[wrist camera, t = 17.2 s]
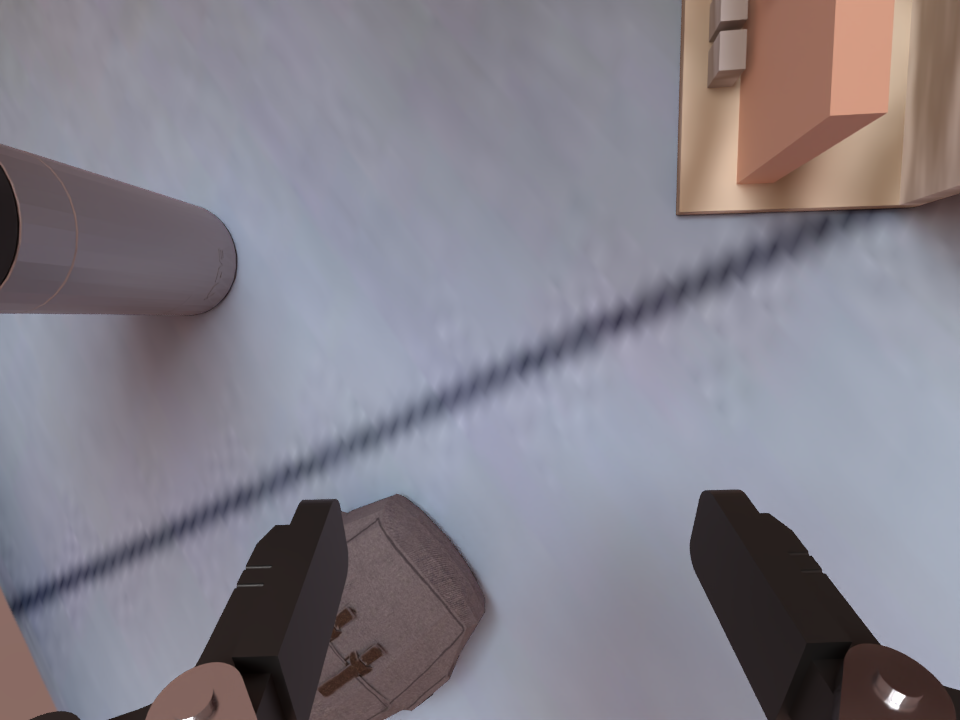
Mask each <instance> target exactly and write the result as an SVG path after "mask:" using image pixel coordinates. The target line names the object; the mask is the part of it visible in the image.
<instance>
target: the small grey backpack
mask: <svg viewBox="0 0 960 720" xmlns="http://www.w3.org/2000/svg"><path fill="white" fill-rule="evenodd" d="M341 514H342V519H343V525H344V530H345V536H346V541H347V547H348V557H349V559H348V573H347V578H346V582H345V586H344V590H343V594H342V597H341V601H340V605H339V609H338V612H337V616H336V620H335V624H334V627H333V631H332V635H331V639H330V642H329V646H328V650H327V654H326V657H325V661H324V665H323V669H322V672H321V676H320V680H319V684H318V687H317V691H316V695H315V699H314V702H313V706H312V710H311V714H310V717H309V720H384V719H386V718H388V717H390V716H391V715H393V714H395V713H397V712H399V711H401V710H403V709H404V710H410V711H412V710H413V709H415V708H416V707H417V706H419V705H420V704H421V703H423V702H424V701H425V700H426V699H428V698H429V697H430V696H432V695H433V693H434V692H435V691H436V690H437V689H438V688H440V687H441V686H442V685H443V684H444V683H446V682H447V681H448V680H449V679H450V676H451V674H452V672H453V669H454V667H455V664H456V662H457V660H458V657H459V654H460V652H461V650H462V649H463V647H464V646H465V644H466V642H467V641H468V639H469V637H470V636H471V634H472V632H473V631H474V629H475V627H476V626H477V624H478V622H479V621H480V619H481V618H482V616H483V614H484V613H485V602H484V596H483V594H482V592H481V589H480V587H479V585H478V583H477V582H476V580H475V578H474V576H473V574H472V572H471V571H470V569H469V567H468V565H467V563H466V562H465V561H464V559H463V558H462V557H461V555H460V554H459V553H458V551H457V550H456V549H455V547H454V546H453V545H452V543H451V542H450V540H449V539H448V538H447V536H446V535H445V534H444V533H443V532H442V531H441V530H440V529H439V528H438V527H437V526H436V525H435V524H434V523H433V522H432V521H431V519H430V518H429V517H428V516H427V515H426V514H425V513H424V512H423V511H422V510H421V509H419V508H418V507H417V506H415V505H414V504H413V503H412V502H410V501H409V500H408V499H407V498H405V497H404V496H401V495H399V494H396V495H393V496H390V497H388V498H385V499H382V500H379V501H377V502H374V503H371V504H368V505H366V506H363V507H360V508H358V509H355V510H352V511H351V512H349V513H346V512H341Z"/></svg>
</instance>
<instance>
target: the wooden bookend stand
mask: <svg viewBox="0 0 960 720" xmlns="http://www.w3.org/2000/svg"><path fill="white" fill-rule="evenodd" d="M747 18H748V0H682V17H681V53H680V89H679V125H678V161H677V197H676V215H689V214H721V213H753V212H785V211H817V210H848V209H880V208H912V207H917V206H920V205H923V204H927V203H930V202H933V201H936V200H940V199H943V198H946V197H949V196H953V195H956V194H959V193H960V0H895V3H894V19H893V36H892V52H891V68H890V85H889V101H888V113H886V114H885V115H883V116H881V117H880V118H878V119H877V120H875V121H873V122H872V123H870V124H868V125H867V126H865V127H864V128H862V129H860V130H859V131H857V132H855V133H854V134H852V135H851V136H849V137H847V138H846V139H844V140H842V141H841V142H839V143H838V144H836V145H834V146H833V147H831V148H829V149H828V150H826V151H825V152H823V153H821V154H820V155H818V156H816V157H815V158H813V159H812V160H810V161H808V162H807V163H805V164H803V165H802V166H800V167H799V168H797V169H795V170H794V171H792V172H790V173H789V174H787V175H786V176H784V177H782V178H781V179H779V180H778V181H776V182H774V183H758V184H736V183H737V157H738V130H739V104H740V78H741V74H742V73H743V71H744V70H745V69H746V45H747V29H742V27H743V25H744V24H745V22H746V21H747Z"/></svg>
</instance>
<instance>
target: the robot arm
mask: <svg viewBox="0 0 960 720" xmlns="http://www.w3.org/2000/svg"><path fill="white" fill-rule="evenodd" d="M235 270H236V253H235V248H234V243H233V241H232V238H231V236H230V234H229V232H228V230H227V229H226V227H225V226H224V224H223V223H222V222H221V221H220V220H219V219H218V218H217V217H216V216H215V215H214V214H212V213H211V212H209V211H208V210H206V209H204V208H201V207H198V206H195V205H192V204H189V203H186V202H183V201H180V200H177V199H174V198H171V197H168V196H165V195H162V194H159V193H156V192H152V191H149V190H146V189H143V188H140V187H137V186H133V185H130V184H127V183H124V182H121V181H118V180H114V179H111V178H108V177H105V176H102V175H99V174H95V173H92V172H89V171H86V170H83V169H80V168H76V167H73V166H70V165H67V164H64V163H61V162H58V161H54V160H51V159H48V158H45V157H42V156H39V155H35V154H32V153H29V152H26V151H22V150H19V149H15V148H12V147H9V146H6V145H3V144H0V314H17V313H21V314H115V315H197V314H200V313H203V312H206V311H208V310H210V309H211V308H213V307H215V306H216V305H217V304H218V303H219V302H220V301H221V300H222V299H223V298H224V297H225V295H226V294H227V292H228V291H229V289H230V287H231V285H232V282H233V280H234V276H235ZM690 555H691V561H692V565H693V568H694V570H695V573H696V575H697V577H698V579H699V581H700V583H701V585H702V587H703V589H704V591H705V593H706V595H707V597H708V599H709V601H710V603H711V605H712V607H713V609H714V611H715V613H716V615H717V617H718V619H719V621H720V623H721V626H722V628H723V630H724V632H725V634H726V636H727V638H728V640H729V642H730V644H731V646H732V648H733V650H734V652H735V654H736V656H737V658H738V660H739V662H740V664H741V666H742V668H743V670H744V672H745V674H746V676H747V678H748V680H749V683H750V685H751V687H752V689H753V691H754V693H755V695H756V697H757V699H758V701H759V703H760V705H761V707H762V709H763V711H764V713H765V715H766V717H767V719H768V720H960V690H956V689H952V688H949V687H946V686H943V685H942V684H941V683H940V682H939V681H938V680H937V679H936V678H935V677H934V675H933V674H931V673H930V672H929V671H928V670H927V669H926V668H925V667H923V666H922V665H921V664H919V663H918V662H916V661H915V660H913V659H912V658H910V657H908V656H907V655H905V654H903V653H901V652H899V651H897V650H894V649H892V648H889V647H886V646H882V645H881V644H880V643H879V642H878V641H877V640H876V638H875V637H874V636H873V635H872V633H871V632H870V631H869V629H868V628H867V627H866V626H865V624H864V623H863V622H862V620H861V619H860V618H859V616H858V615H857V614H856V613H855V611H854V610H853V609H852V607H851V606H850V605H849V604H848V602H847V601H846V600H845V598H844V597H843V596H842V594H841V593H840V592H839V591H838V589H837V588H836V587H835V585H834V584H833V583H832V582H831V580H830V579H829V578H828V576H827V575H826V574H823V573H822V569H821V567H820V566H819V565H818V563H817V562H816V561H815V560H814V558H813V557H812V556H809V554H808V550H807V549H806V548H805V547H804V545H803V544H802V543H801V541H800V540H799V539H798V538H797V536H796V535H795V534H794V532H793V531H792V530H791V529H789V528H788V527H787V526H785V525H784V524H783V523H781V522H780V521H779V520H777V519H776V518H775V517H773V516H772V515H771V514H769V513H759V512H758V511H757V509H756V508H755V506H754V505H753V504H752V502H751V501H750V500H749V498H748V497H747V495H746V494H745V493H744V492H743V491H741V490H705V491H703V492H702V493H701V495H700V499H699V503H698V508H697V512H696V517H695V521H694V526H693V530H692V535H691V540H690ZM348 559H349V557H348V547H347V541H346V536H345V530H344V525H343V519H342V514H341V508H340V504H339V501H338V500H337V499H320V500H302V501H301V502H300V503H299V505H298V507H297V510H296V512H295V514H294V517H293V519H292V521H291V523H290V525H275V526H274V527H273V528H272V529H271V530H270V531H269V532H268V533H267V534H266V535H265V536H264V537H263V538H262V539H261V540H260V541H259V542H258V543H257V545H256V547H255V549H254V551H253V553H252V555H251V557H250V559H249V561H248V563H247V565H246V570H244V571H243V573H242V575H241V577H240V579H239V581H238V583H237V588H235V589H234V591H233V593H232V595H231V597H230V599H229V601H228V603H227V605H226V607H225V609H224V611H223V613H222V615H221V617H220V619H219V621H218V623H217V625H216V627H215V629H214V631H213V633H212V635H211V637H210V639H209V641H208V643H207V645H206V647H205V649H204V651H203V653H202V655H201V657H200V659H199V661H198V662H197V664H196V666H195V667H194V668H192V669H190V670H188V671H186V672H184V673H183V674H181V675H180V676H178V677H177V678H176V679H174V680H173V681H172V682H170V683H169V684H168V685H167V686H166V687H165V688H164V689H163V690H162V692H161V693H160V694H159V695H158V696H157V698H156V699H155V701H154V702H153V703H152V704H150V705H148V706H146V707H143V708H141V709H138V710H135V711H132V712H129V713H126V714H123V715H121V716H118V717H115V718H112V719H109V720H309V717H310V714H311V710H312V706H313V702H314V699H315V695H316V691H317V687H318V684H319V680H320V676H321V672H322V669H323V665H324V661H325V657H326V654H327V650H328V646H329V642H330V639H331V635H332V631H333V627H334V624H335V620H336V616H337V612H338V609H339V605H340V601H341V597H342V594H343V590H344V586H345V582H346V578H347V573H348ZM30 720H80V719H79V718H78V717H77V716H76V715H74V714H73V713H70V712H65V711H57V712H51V713H46V714H43V715H40V716H37V717H35V718H33V719H30Z"/></svg>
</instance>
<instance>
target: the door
mask: <svg viewBox="0 0 960 720" xmlns="http://www.w3.org/2000/svg"><path fill="white" fill-rule="evenodd" d="M894 3H895V0H748V18H747V21H746V22H745V24H744V25H743V27H742V29H747V45H746V69H745V70H744V71H743V73H742V74H741V78H740V104H739V130H738V157H737V183H736V184H758V183H774V182H776V181H778V180H779V179H781V178H782V177H784V176H786V175H787V174H789V173H790V172H792V171H794V170H795V169H797V168H799V167H800V166H802V165H803V164H805V163H807V162H808V161H810V160H812V159H813V158H815V157H816V156H818V155H820V154H821V153H823V152H825V151H826V150H828V149H829V148H831V147H833V146H834V145H836V144H838V143H839V142H841V141H842V140H844V139H846V138H847V137H849V136H851V135H852V134H854V133H855V132H857V131H859V130H860V129H862V128H864V127H865V126H867V125H868V124H870V123H872V122H873V121H875V120H877V119H878V118H880V117H881V116H883V115H885V114H886V113H888V101H889V85H890V68H891V52H892V36H893V19H894Z"/></svg>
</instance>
